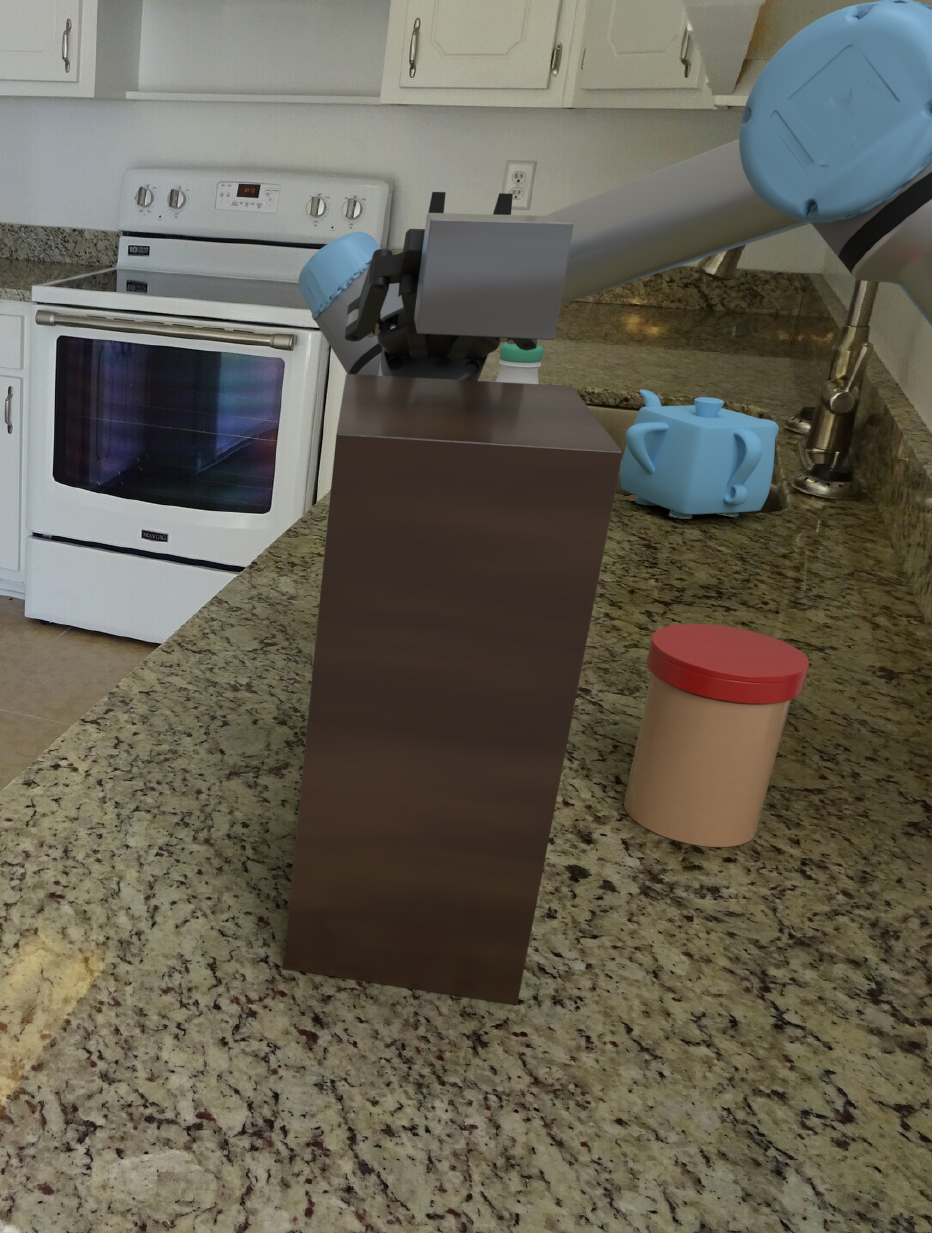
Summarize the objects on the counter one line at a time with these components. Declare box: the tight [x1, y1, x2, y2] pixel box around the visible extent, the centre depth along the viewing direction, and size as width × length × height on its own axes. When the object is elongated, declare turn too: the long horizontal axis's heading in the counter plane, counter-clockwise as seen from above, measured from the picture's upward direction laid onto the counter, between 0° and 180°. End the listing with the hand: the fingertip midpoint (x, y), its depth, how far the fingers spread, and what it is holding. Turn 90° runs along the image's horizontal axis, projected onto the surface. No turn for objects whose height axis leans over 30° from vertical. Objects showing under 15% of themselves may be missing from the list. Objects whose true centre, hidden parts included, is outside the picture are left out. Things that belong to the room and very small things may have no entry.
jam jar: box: [623, 672, 792, 848], centre depth 80 cm, size 8×8×12 cm
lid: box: [646, 623, 810, 704], centre depth 78 cm, size 9×9×2 cm
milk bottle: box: [494, 342, 544, 384], centre depth 145 cm, size 8×8×20 cm
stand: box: [282, 373, 624, 1005], centre depth 67 cm, size 16×12×29 cm
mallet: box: [414, 212, 574, 341], centre depth 69 cm, size 29×6×5 cm, turn 166°
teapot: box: [619, 389, 780, 517], centre depth 151 cm, size 18×16×14 cm
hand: (470, 215), depth 72 cm, fingers closed on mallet, 3 cm apart
